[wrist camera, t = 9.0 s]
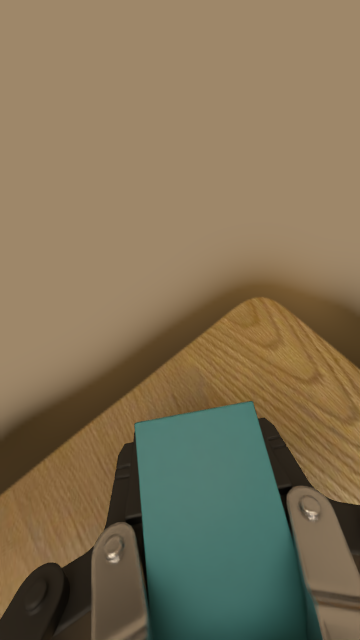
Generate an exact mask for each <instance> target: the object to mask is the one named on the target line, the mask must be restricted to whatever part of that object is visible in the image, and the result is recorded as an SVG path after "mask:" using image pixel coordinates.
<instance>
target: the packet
mask: <svg viewBox="0 0 360 640" xmlns="http://www.w3.org/2000/svg"><path fill="white" fill-rule="evenodd" d="M135 436H136V449H137V461H138V474H139V486H140V499H141V512H142V524H143V537H144V549H145V562H146V574H147V587H148V600H149V611H150V617H151V624H152V630H153V635H154V640H307V637H306V624H307V606H306V600H305V594H304V590H303V585H302V581H301V576H300V572H299V567H298V563H297V558H296V554H295V550H294V545H293V540H292V536H291V532H290V529H289V525H288V522H287V518H286V515H285V511H284V508H283V505H282V501H281V498H280V494H279V491H278V487H277V484H276V480H275V477H274V473H273V470H272V466H271V463H270V459H269V456H268V453H267V449H266V446H265V442H264V439H263V435H262V432H261V428H260V425H259V421H258V418H257V414H256V411H255V408H254V404H253V402H252V401H249V402H242V403H237V404H232V405H226V406H221V407H216V408H210V409H205V410H200V411H194V412H189V413H184V414H178V415H173V416H168V417H162V418H157V419H152V420H146V421H141V422H137V423H135Z"/></svg>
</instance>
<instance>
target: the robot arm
mask: <svg viewBox="0 0 360 640" xmlns="http://www.w3.org/2000/svg"><path fill="white" fill-rule="evenodd" d="M258 421H259V425H260V428H261V432H262V435H263V439H264V442H265V446H266V449H267V453H268V456H269V459H270V463H271V466H272V470H273V473H274V477H275V480H276V484H277V487H278V491H279V494H280V498H281V501H282V505H283V508H284V511H285V515H286V518H287V522H288V525H289V529H290V532H291V536H292V540H293V545H294V550H295V554H296V558H297V563H298V567H299V572H300V576H301V581H302V585H303V590H304V594H305V600H306V606H307V624H306V637H307V640H360V505H354V504H348V503H342V502H337V501H334V500H331V499H329V498H327V497H325V496H324V495H323V494H321V493H320V492H319V491H317V490H316V489H315V488H313V486H312V485H311V484H310V483H309V481H308V480H307V478H306V476H305V475H304V473H303V472H302V470H301V468H300V467H299V465H298V464H297V462H296V460H295V459H294V457H293V455H292V454H291V452H290V451H289V449H288V447H286V444H285V442H284V441H283V439H282V438H281V436H280V434H279V433H278V431H277V429H276V428H275V426H274V425H273V424H272V423H270V422H269V421H268V420H267V419H265V418H260V419H258ZM116 468H117V469H116V472H115V480H114V484H113V489H112V495H111V500H110V506H109V512H108V517H107V522H106V526H105V529H104V531H103V532H102V534H101V535H100V536H99V538H98V539H97V541H96V543H95V545H94V546H93V547H92V548H91V549H90V550H89V551H88V552H87V553H85V554H84V555H82V556H81V557H79V558H77V559H76V560H74V561H73V562H71V563H69V564H68V565H66V566H64V567H63V568H61V567H60V566H59V565H58V564H56V563H46V564H44V565H42V566H40V567H38V568H37V569H36V570H34V571H33V572H32V573H31V574H30V575H29V576H28V577H27V578H26V579H25V581H24V582H23V583H22V585H21V586H20V588H19V589H18V591H17V593H16V594H15V596H14V598H13V599H12V601H11V603H10V604H9V606H8V608H7V609H6V611H5V613H4V614H3V616H2V618H1V619H0V640H154V635H153V630H152V624H151V617H150V611H149V600H148V587H147V574H146V562H145V549H144V537H143V524H142V512H141V499H140V486H139V474H138V461H137V449H136V436H135V433H134V441H133V442H132V443H127V444H125V445H124V446H123V448H122V450H121V452H120V453H119V455H118V461H117V467H116Z"/></svg>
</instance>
